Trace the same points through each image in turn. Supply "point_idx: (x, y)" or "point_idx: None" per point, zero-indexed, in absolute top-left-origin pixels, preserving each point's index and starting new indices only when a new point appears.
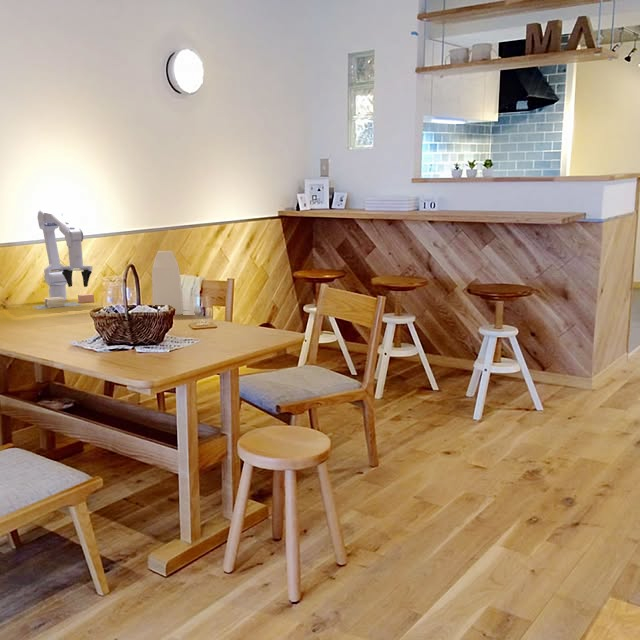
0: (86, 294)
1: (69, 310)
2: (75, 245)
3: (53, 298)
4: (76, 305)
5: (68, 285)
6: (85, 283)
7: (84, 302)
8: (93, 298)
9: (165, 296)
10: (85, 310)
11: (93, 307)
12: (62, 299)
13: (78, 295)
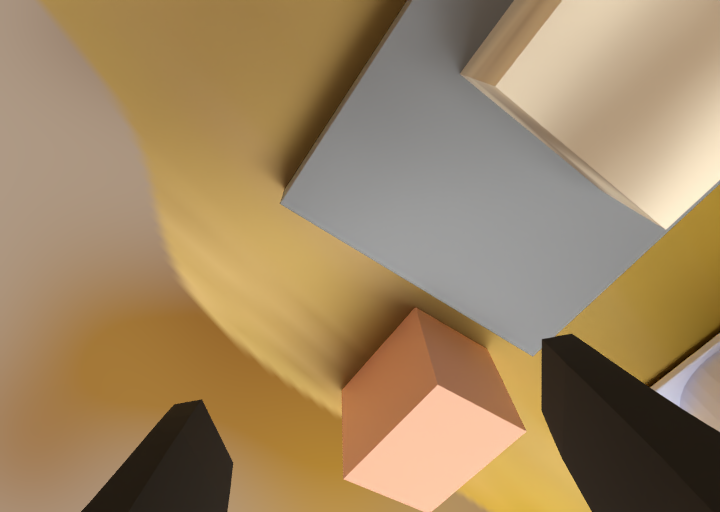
0: (433, 464)
1: (326, 3)
2: None
3: (701, 20)
4: (330, 159)
5: (584, 349)
6: (131, 474)
7: (399, 352)
8: (345, 438)
9: None
10: (104, 59)
11: (220, 276)
12: (511, 58)
13: (507, 417)
